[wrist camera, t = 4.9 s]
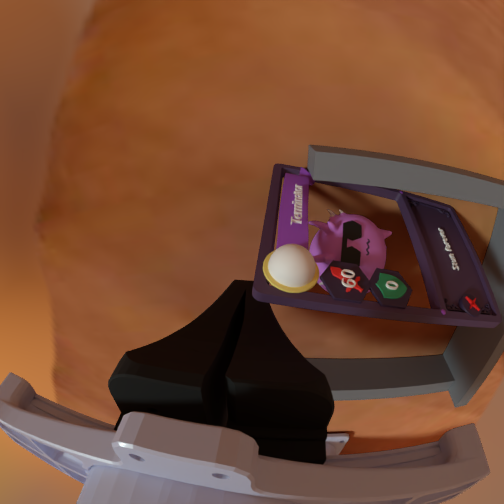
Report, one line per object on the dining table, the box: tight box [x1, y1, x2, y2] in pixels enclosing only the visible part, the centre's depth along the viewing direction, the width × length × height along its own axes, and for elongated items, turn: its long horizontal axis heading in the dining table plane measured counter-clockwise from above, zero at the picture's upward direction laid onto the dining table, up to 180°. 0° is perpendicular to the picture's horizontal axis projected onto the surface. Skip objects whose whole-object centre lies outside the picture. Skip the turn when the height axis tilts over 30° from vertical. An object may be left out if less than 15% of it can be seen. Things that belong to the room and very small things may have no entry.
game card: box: [252, 164, 502, 328], centre depth 11 cm, size 7×5×9 cm
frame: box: [305, 145, 504, 407], centre depth 12 cm, size 13×12×4 cm
